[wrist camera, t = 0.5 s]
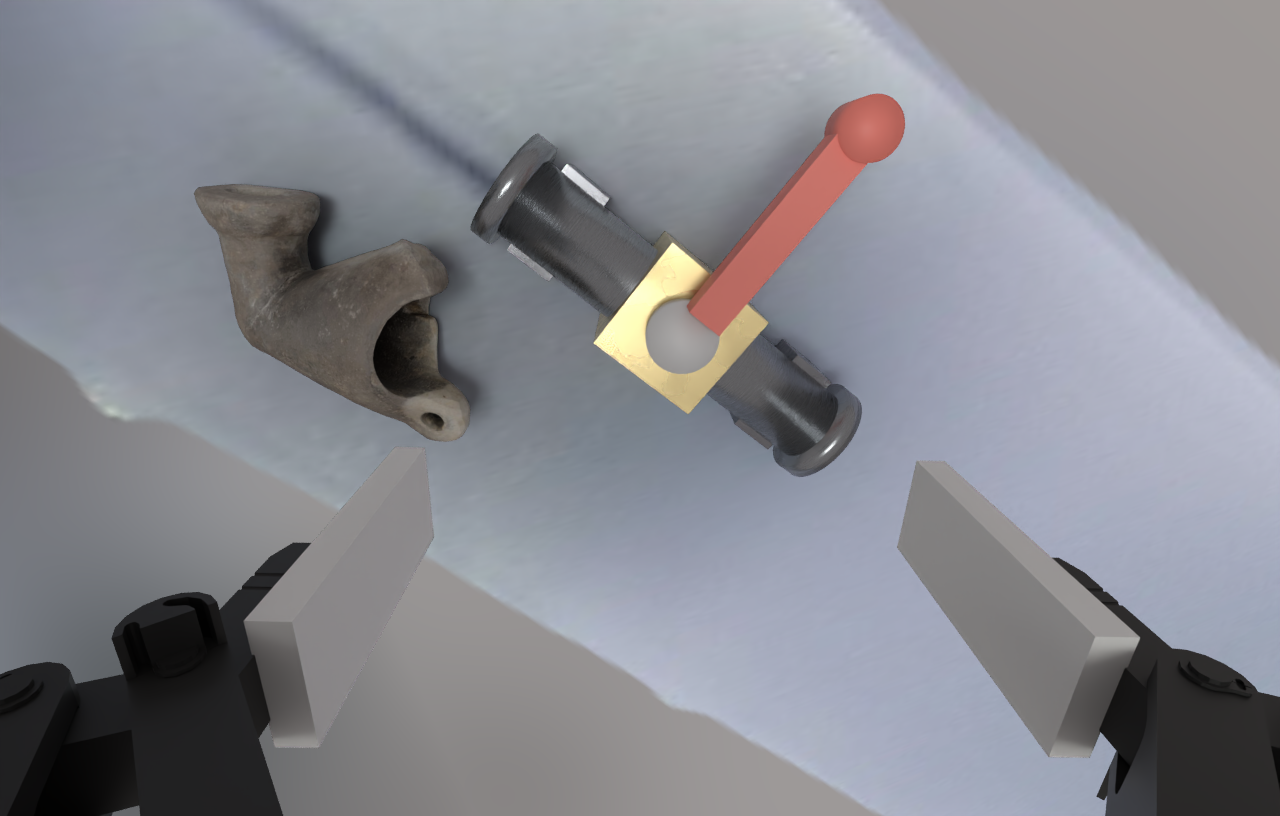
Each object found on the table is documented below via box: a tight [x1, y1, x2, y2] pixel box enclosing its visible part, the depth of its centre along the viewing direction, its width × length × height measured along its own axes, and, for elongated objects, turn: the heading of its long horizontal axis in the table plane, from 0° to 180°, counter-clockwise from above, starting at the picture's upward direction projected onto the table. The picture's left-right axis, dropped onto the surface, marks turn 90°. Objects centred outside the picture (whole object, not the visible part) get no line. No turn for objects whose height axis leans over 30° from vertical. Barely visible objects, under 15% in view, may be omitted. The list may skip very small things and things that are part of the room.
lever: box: [645, 94, 905, 374], centre depth 30 cm, size 16×4×3 cm, turn 142°
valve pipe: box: [471, 134, 862, 477], centre depth 37 cm, size 25×7×8 cm, turn 52°
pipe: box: [194, 184, 470, 442], centre depth 38 cm, size 16×9×15 cm
